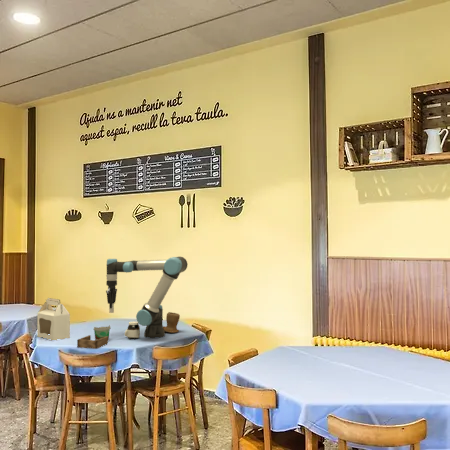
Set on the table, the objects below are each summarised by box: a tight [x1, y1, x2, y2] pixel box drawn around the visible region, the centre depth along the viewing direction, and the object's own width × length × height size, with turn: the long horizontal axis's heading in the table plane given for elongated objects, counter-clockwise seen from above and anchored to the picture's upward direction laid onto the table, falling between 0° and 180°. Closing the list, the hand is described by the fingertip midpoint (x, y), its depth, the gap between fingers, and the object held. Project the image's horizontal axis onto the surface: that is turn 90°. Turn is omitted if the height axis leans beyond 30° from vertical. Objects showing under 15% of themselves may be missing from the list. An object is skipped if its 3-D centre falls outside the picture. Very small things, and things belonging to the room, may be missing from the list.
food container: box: [93, 324, 111, 341], centre depth 351 cm, size 12×6×10 cm, turn 126°
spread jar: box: [124, 320, 141, 340], centre depth 361 cm, size 12×11×12 cm
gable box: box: [36, 297, 71, 341], centre depth 363 cm, size 22×13×28 cm, turn 50°
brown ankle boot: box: [163, 311, 181, 334], centre depth 383 cm, size 15×12×15 cm
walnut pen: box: [76, 334, 109, 350], centre depth 337 cm, size 14×15×5 cm
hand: (111, 312), depth 363 cm, fingers closed
